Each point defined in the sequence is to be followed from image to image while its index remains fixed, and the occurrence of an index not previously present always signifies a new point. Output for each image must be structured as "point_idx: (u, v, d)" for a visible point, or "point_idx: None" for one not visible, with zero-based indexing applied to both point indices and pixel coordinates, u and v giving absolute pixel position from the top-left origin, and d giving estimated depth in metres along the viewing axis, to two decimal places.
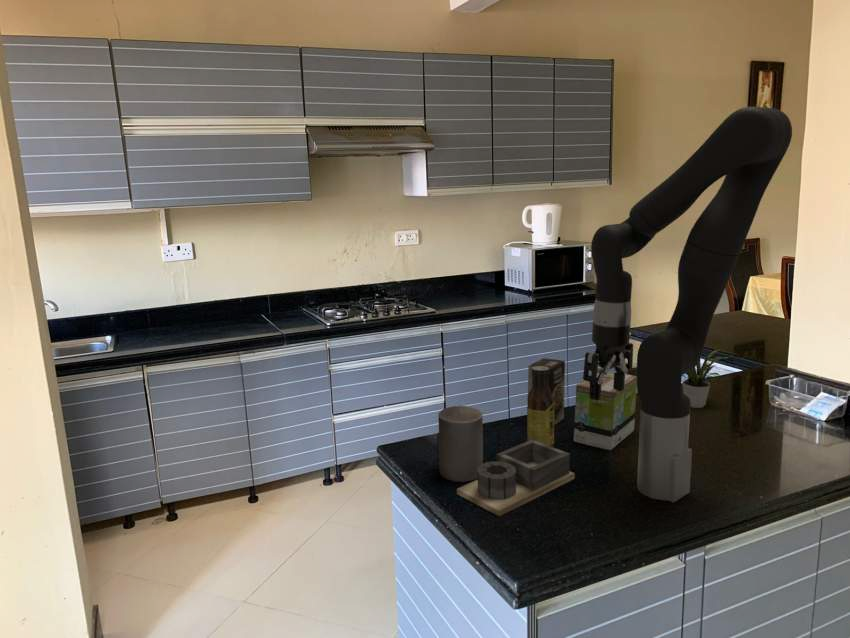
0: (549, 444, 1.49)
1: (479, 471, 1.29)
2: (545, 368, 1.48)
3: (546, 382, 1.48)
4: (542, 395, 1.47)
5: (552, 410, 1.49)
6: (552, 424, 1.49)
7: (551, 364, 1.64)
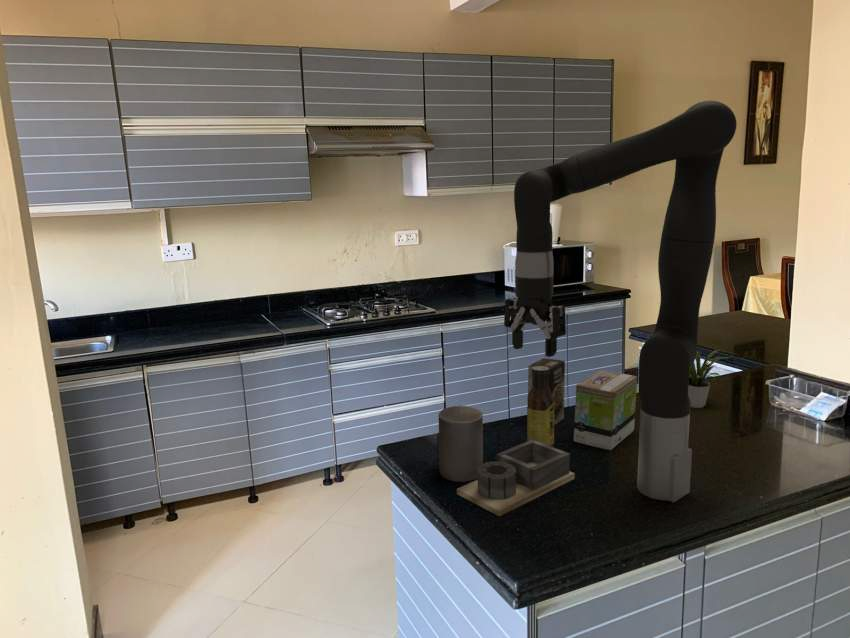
0: (549, 444, 1.49)
1: (479, 471, 1.29)
2: (545, 368, 1.48)
3: (546, 382, 1.48)
4: (542, 395, 1.47)
5: (552, 410, 1.49)
6: (552, 424, 1.49)
7: (551, 364, 1.64)
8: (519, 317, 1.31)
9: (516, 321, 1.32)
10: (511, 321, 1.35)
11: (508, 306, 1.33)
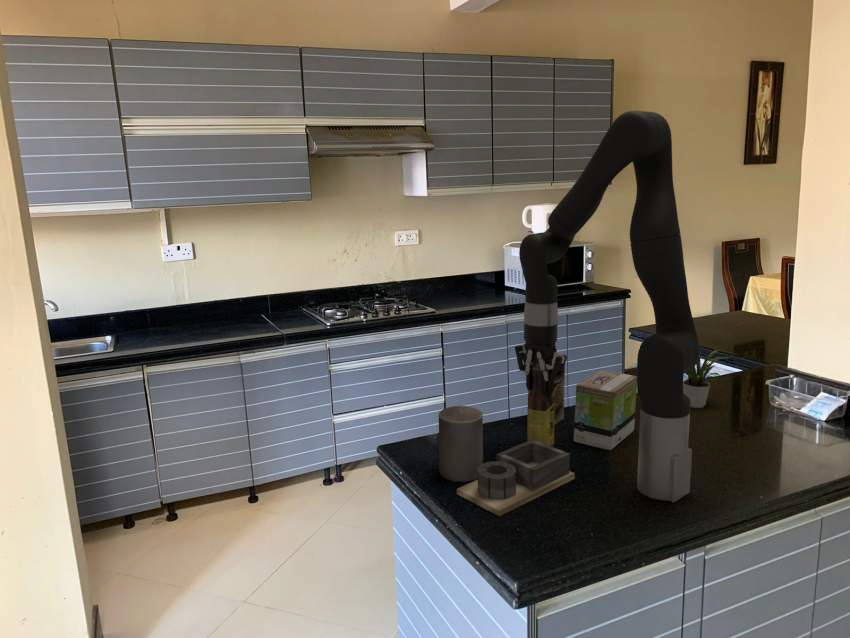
0: (549, 444, 1.49)
1: (479, 471, 1.29)
2: None
3: None
4: (543, 395, 1.47)
5: (552, 410, 1.49)
6: (552, 424, 1.49)
7: None
8: (529, 360, 1.48)
9: (528, 364, 1.49)
10: (525, 365, 1.52)
11: (518, 352, 1.51)
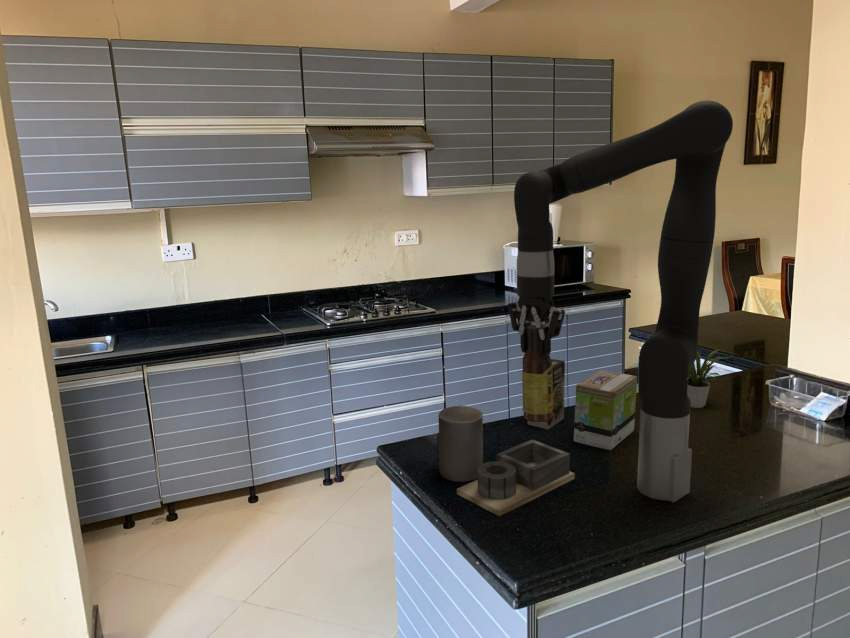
0: (547, 412, 1.33)
1: (479, 471, 1.29)
2: None
3: None
4: (539, 356, 1.31)
5: (550, 374, 1.32)
6: (550, 389, 1.33)
7: None
8: (523, 317, 1.32)
9: (522, 322, 1.33)
10: (519, 325, 1.36)
11: (512, 309, 1.35)
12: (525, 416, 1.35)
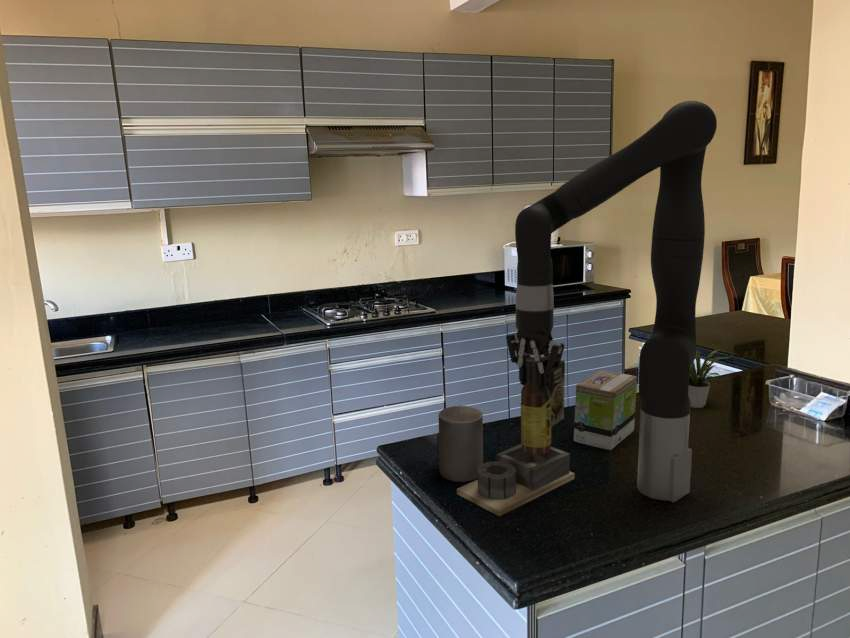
0: (546, 445, 1.32)
1: (479, 471, 1.29)
2: None
3: None
4: (538, 390, 1.30)
5: (549, 407, 1.32)
6: (549, 422, 1.32)
7: None
8: (522, 350, 1.32)
9: (520, 355, 1.32)
10: (518, 357, 1.35)
11: (510, 341, 1.35)
12: (523, 449, 1.34)
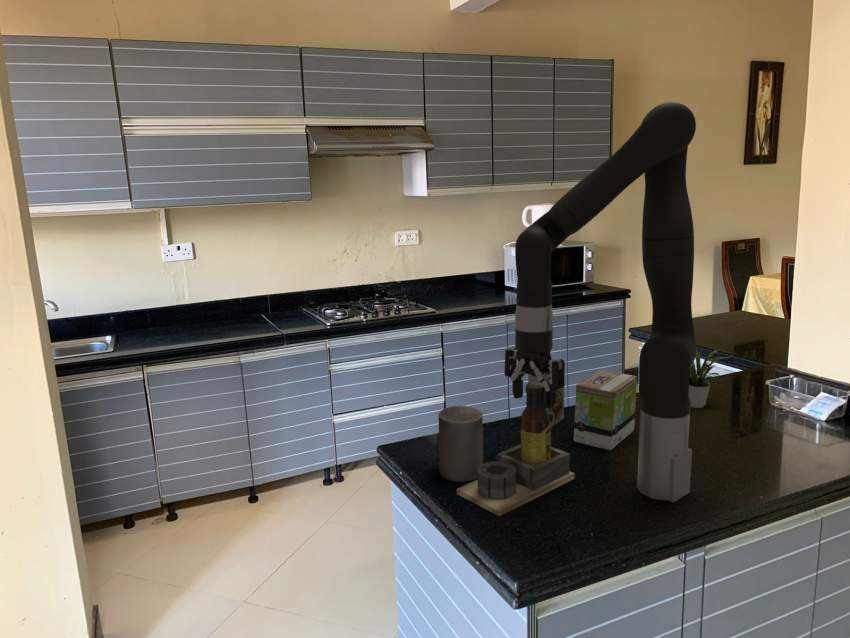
0: None
1: (479, 471, 1.29)
2: (541, 385, 1.32)
3: (542, 401, 1.32)
4: (538, 416, 1.32)
5: (549, 432, 1.33)
6: (549, 448, 1.34)
7: None
8: (519, 368, 1.33)
9: (516, 372, 1.34)
10: (511, 371, 1.37)
11: (508, 356, 1.36)
12: None
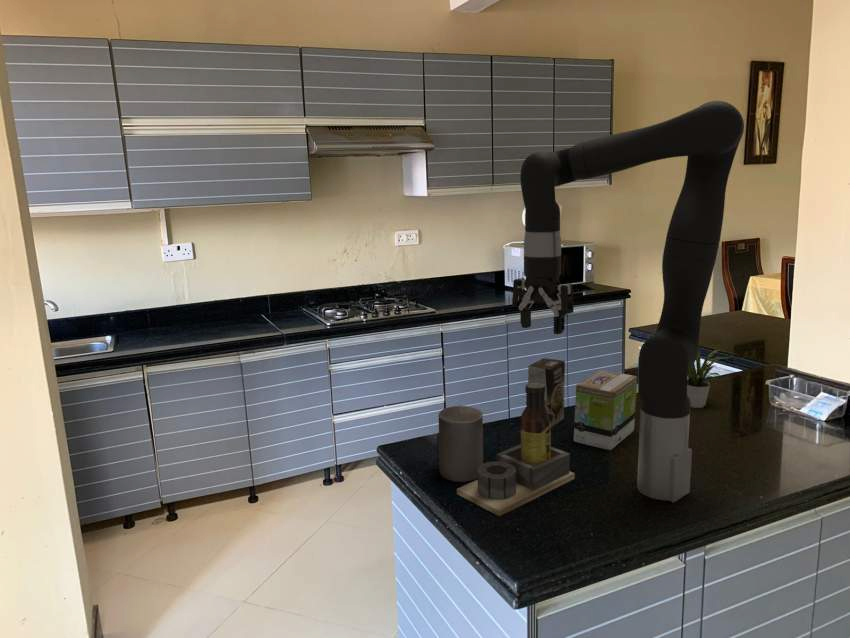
0: None
1: (479, 471, 1.29)
2: (540, 385, 1.32)
3: (542, 401, 1.32)
4: (537, 416, 1.32)
5: (548, 432, 1.33)
6: (549, 448, 1.34)
7: (551, 364, 1.64)
8: (527, 296, 1.34)
9: (524, 300, 1.35)
10: (519, 301, 1.38)
11: (516, 286, 1.37)
12: None
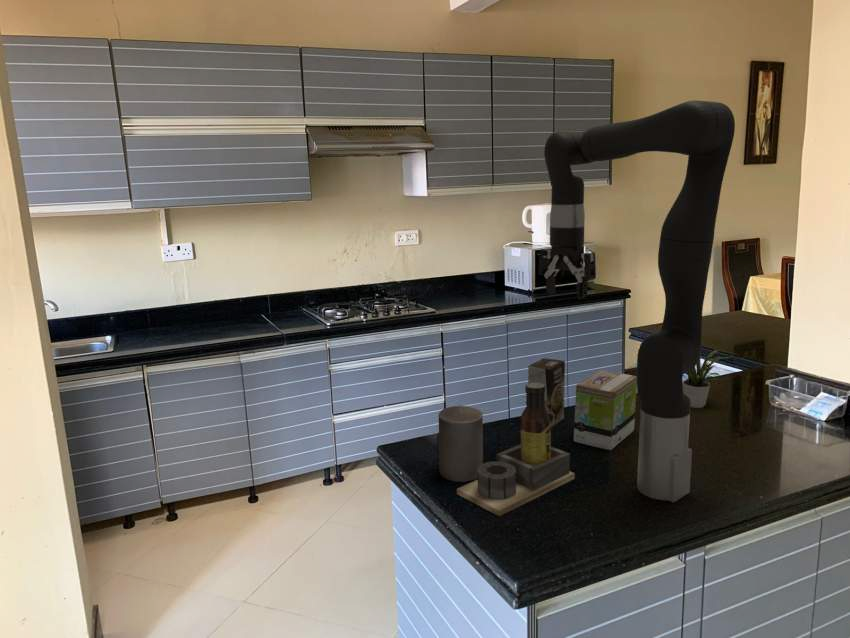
0: None
1: (479, 471, 1.29)
2: (540, 385, 1.32)
3: (542, 401, 1.32)
4: (537, 416, 1.32)
5: (548, 432, 1.33)
6: (549, 448, 1.34)
7: (551, 364, 1.64)
8: (553, 265, 1.46)
9: (550, 268, 1.47)
10: (545, 270, 1.50)
11: (542, 256, 1.49)
12: None
